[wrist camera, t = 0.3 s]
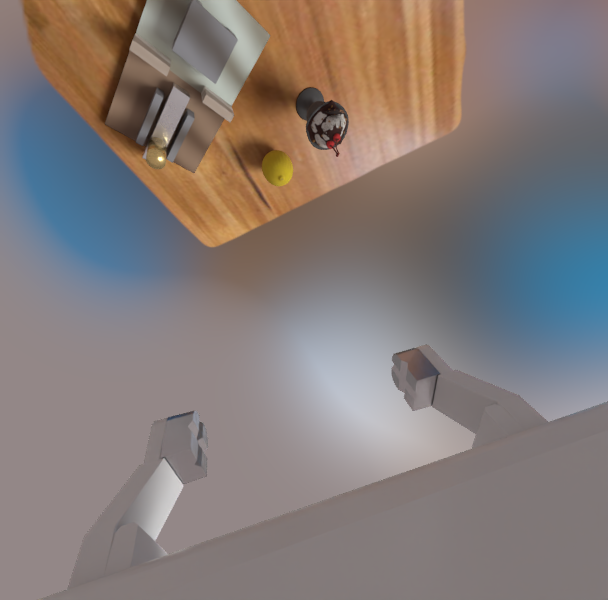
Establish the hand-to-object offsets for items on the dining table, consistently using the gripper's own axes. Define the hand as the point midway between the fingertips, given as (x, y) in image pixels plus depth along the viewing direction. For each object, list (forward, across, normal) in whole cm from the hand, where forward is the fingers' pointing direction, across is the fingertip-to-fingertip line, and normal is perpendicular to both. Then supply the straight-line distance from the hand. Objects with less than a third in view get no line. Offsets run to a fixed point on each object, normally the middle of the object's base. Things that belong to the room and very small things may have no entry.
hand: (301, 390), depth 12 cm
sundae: (+51, -16, -10) cm, 54 cm away
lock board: (+49, +4, -15) cm, 52 cm away
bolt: (+50, +9, -10) cm, 51 cm away
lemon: (+54, -8, -2) cm, 54 cm away
